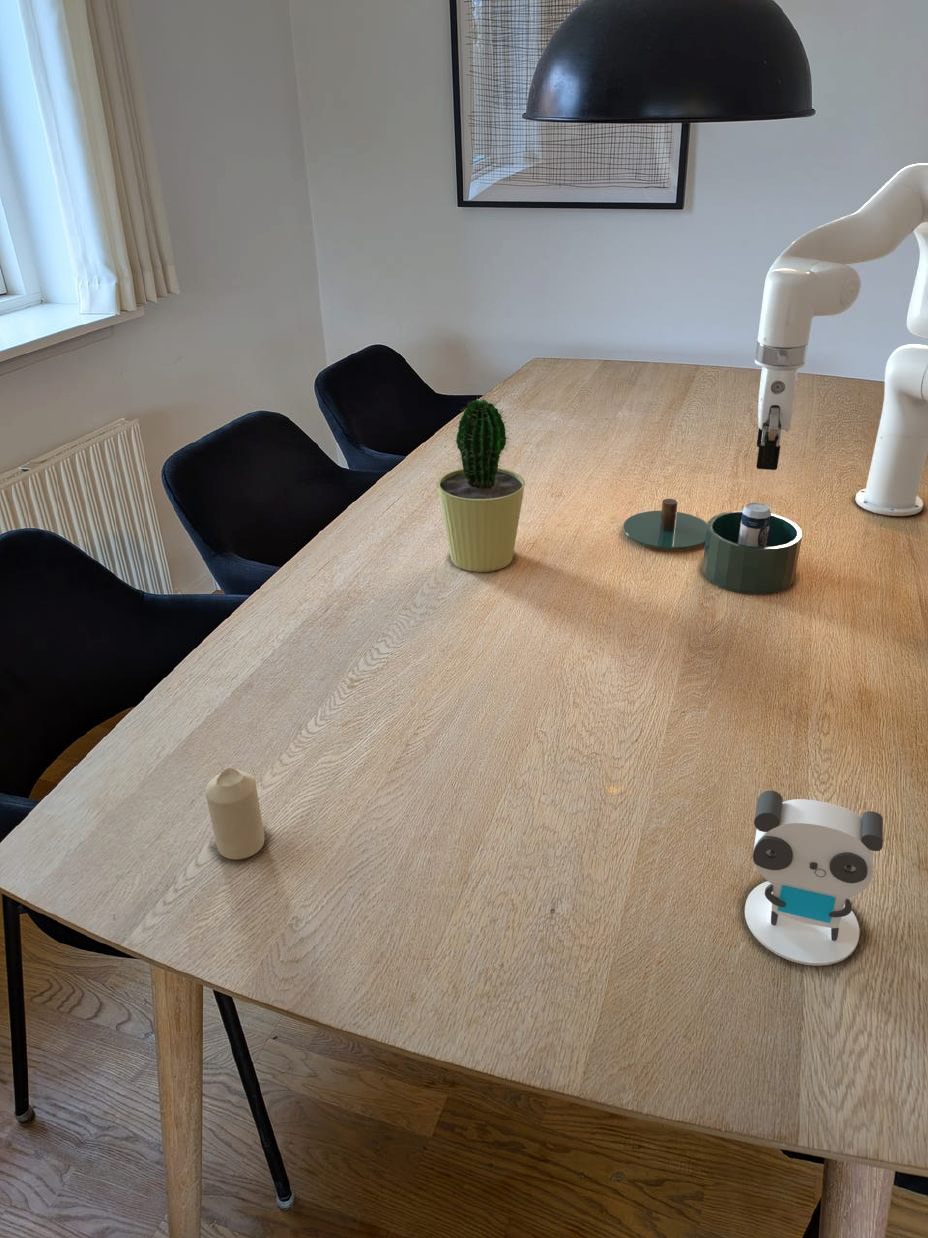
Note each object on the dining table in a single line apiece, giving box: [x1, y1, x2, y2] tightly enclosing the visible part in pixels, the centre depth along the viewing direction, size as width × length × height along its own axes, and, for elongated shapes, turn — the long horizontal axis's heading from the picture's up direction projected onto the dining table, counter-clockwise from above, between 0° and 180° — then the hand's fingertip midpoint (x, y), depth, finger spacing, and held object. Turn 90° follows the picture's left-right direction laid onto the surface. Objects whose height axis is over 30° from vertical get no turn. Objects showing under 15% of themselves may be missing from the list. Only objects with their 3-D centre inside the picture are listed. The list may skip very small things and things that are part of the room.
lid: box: [622, 498, 708, 551], centre depth 178 cm, size 17×17×7 cm
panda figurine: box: [744, 790, 884, 967], centre depth 94 cm, size 12×11×15 cm
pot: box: [701, 510, 803, 595], centre depth 163 cm, size 16×16×8 cm
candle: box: [205, 767, 265, 861], centre depth 107 cm, size 6×6×10 cm
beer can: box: [738, 502, 772, 547], centre depth 162 cm, size 5×5×12 cm
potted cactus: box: [436, 394, 526, 573], centre depth 164 cm, size 15×15×30 cm
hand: (766, 457), depth 155 cm, fingers open, 9 cm apart
